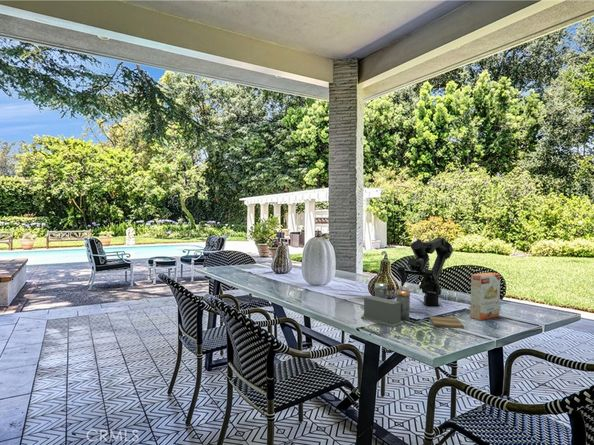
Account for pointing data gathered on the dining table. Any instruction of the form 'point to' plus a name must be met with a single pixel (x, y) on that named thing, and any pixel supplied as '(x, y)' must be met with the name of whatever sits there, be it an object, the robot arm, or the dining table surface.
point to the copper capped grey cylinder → (404, 303)
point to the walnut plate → (446, 322)
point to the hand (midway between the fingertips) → (410, 287)
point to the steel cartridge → (381, 290)
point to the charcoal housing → (382, 311)
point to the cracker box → (485, 296)
